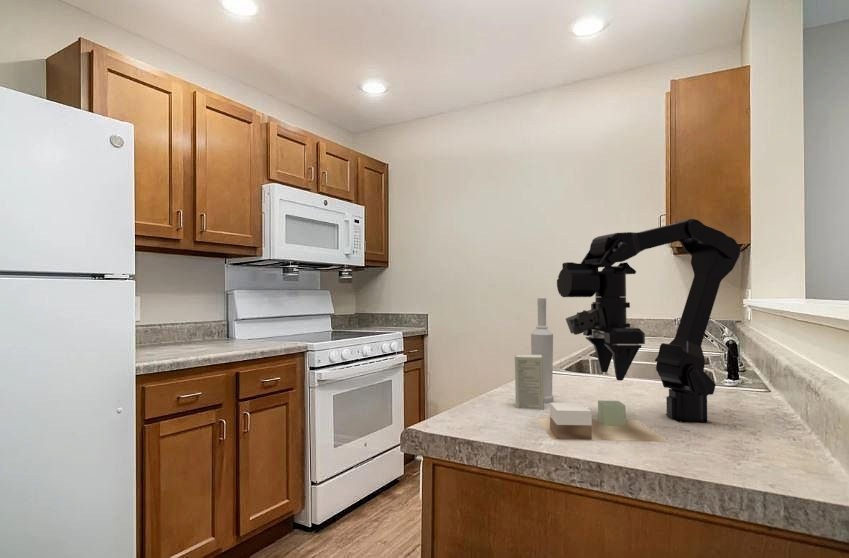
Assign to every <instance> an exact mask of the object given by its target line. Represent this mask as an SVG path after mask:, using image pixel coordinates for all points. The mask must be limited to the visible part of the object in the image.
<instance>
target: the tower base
mask: <svg viewBox="0 0 849 558" xmlns="http://www.w3.org/2000/svg"><path fill="white" fill-rule="evenodd" d="M549 418H550V430H551V431H552V433H553V434H554V436H555V437H556V438H557V439H556V440H563V439H577V441H593V440H592V425H557V424H556V423H555V422H554V420H553V419H552V418H551V417H550V416H549Z"/></svg>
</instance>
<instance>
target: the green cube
mask: <svg viewBox="0 0 849 558" xmlns="http://www.w3.org/2000/svg"><path fill="white" fill-rule="evenodd" d="M626 412H627V411H626V404H625V403H622V402H621V401H619V400H597V414H598V415H597V417H598V418H597V419H598V421H599V422H601V423H602V424H603V425H604V426H626V420H627V419H626V414H627V413H626Z"/></svg>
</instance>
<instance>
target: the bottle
mask: <svg viewBox="0 0 849 558" xmlns="http://www.w3.org/2000/svg"><path fill="white" fill-rule="evenodd" d="M536 302H537V326H536V328H535V330H533V331H532V332H531V333H530V349H531V352H530V355H542V356H543V397H544V404H550V403H554V395H553V377H554V375H553V374H554V373H553V369H554V368H553V367H554V365H553V364H554V363H553V361H554V355H553V354H554V334H553V332H551V331H550V330H549V327H548V326H547V298H546V297H545V298H538V297H537V300H536Z"/></svg>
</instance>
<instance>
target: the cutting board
mask: <svg viewBox="0 0 849 558" xmlns="http://www.w3.org/2000/svg"><path fill="white" fill-rule="evenodd" d="M536 419H537V420H538V422H539V424H540V425H541V426H542V428H543V429H544V431H545V432H546V434H547V435H548V437H549V438H550V439H551V440H558V439H557V438H556V437H555V436H554V434H553V433H552V431H551V430H550V417H547V418H546V417H543V418H542V417H537V418H536ZM562 440H564V441H566V440H571V441H575V440H577V439H562ZM577 441H578V440H577ZM591 441H616V442H617V441H619V442H660V443H662V442H664V443H665V442H669V441H668V440H667V439H665V438H664V437H662V436H661V435H660V434H658V433H656V431H654V430H652V429H651V428H649V427H648V426H646V425H645V424H644V423H643V422H641V421H639V420H638V419H626V426H604V425H603V424H602V423H601V422H599V421H598V418H592V440H591Z"/></svg>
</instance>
